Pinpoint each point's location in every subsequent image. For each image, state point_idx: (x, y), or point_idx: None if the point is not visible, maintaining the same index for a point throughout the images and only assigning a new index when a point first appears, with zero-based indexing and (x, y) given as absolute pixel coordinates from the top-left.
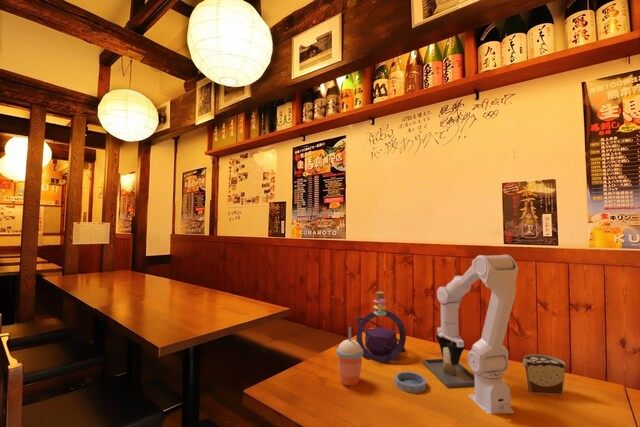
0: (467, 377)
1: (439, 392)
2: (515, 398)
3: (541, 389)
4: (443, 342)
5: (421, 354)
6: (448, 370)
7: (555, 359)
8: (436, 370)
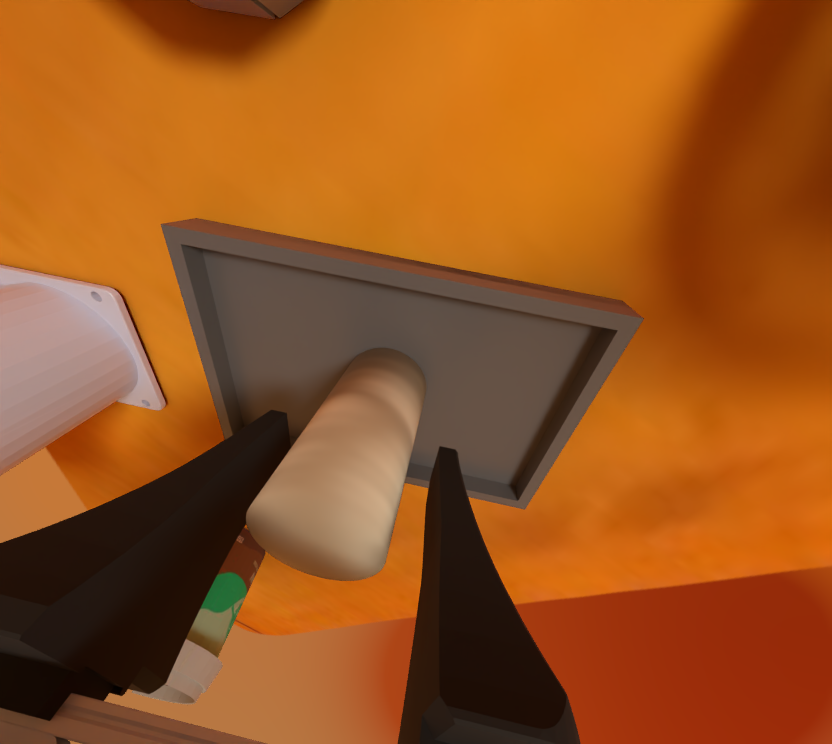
0: None
1: (134, 110)
2: (167, 458)
3: None
4: (427, 620)
5: (776, 409)
6: (348, 370)
7: (169, 693)
8: (439, 318)
